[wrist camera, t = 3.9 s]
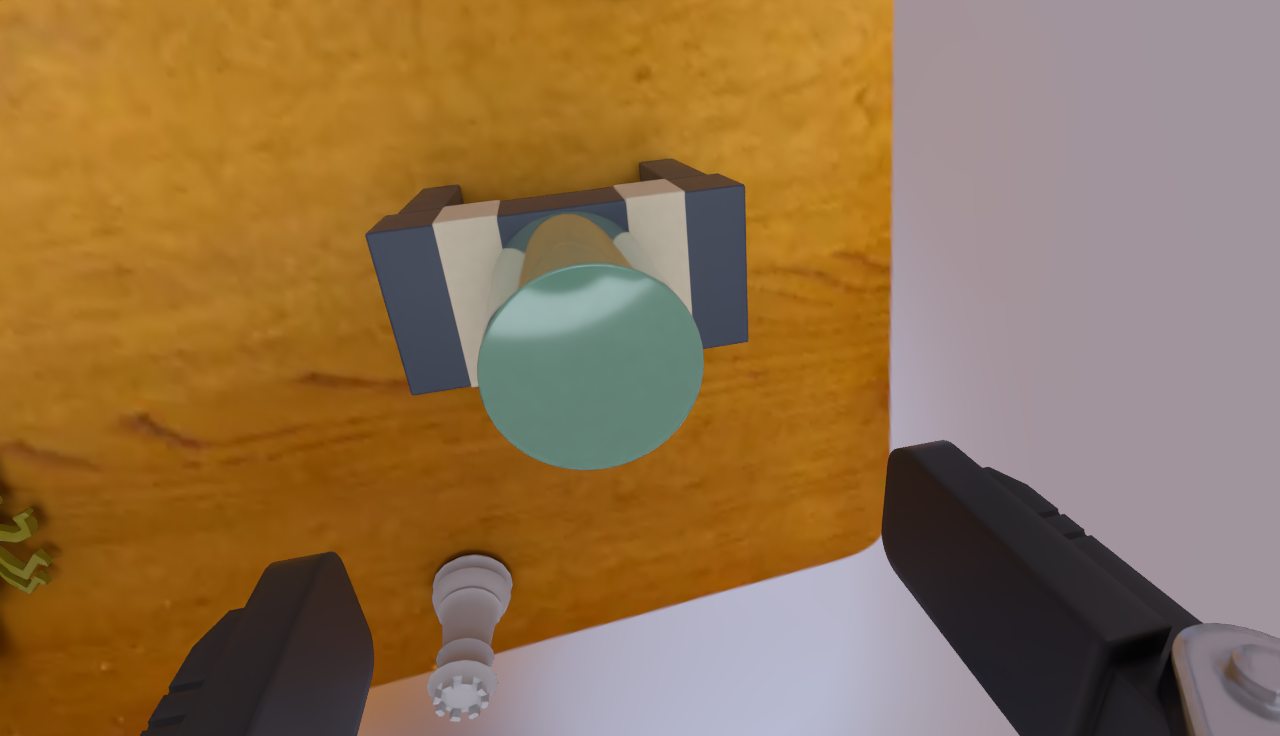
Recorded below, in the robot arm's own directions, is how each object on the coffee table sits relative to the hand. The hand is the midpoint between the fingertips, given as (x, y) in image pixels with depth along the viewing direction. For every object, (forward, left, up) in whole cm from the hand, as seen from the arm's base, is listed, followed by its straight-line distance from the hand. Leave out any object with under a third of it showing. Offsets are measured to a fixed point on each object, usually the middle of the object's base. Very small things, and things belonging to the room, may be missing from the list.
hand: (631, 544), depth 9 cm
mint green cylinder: (0, 0, -13) cm, 13 cm away
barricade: (0, 0, -22) cm, 22 cm away
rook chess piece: (-8, -19, -22) cm, 30 cm away
